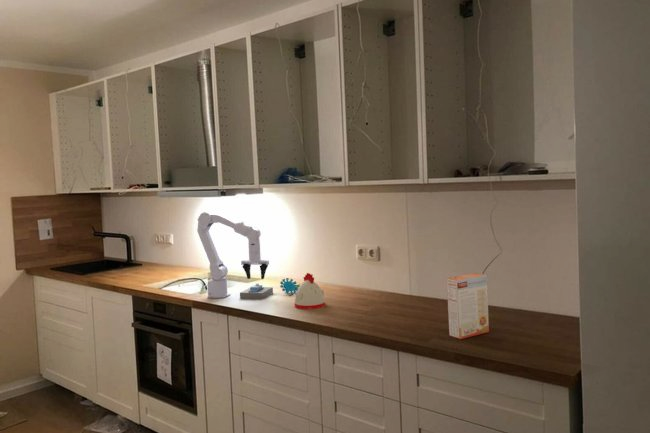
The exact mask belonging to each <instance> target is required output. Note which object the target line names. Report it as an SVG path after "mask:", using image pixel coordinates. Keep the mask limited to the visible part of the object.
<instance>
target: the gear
mask: <svg viewBox="0 0 650 433" xmlns="http://www.w3.org/2000/svg"><path fill="white" fill-rule="evenodd" d="M279 284H280V288H281V290H282V292H285V294H290V295H293V294H294V295H295V292H297V290H298V288H299V287H300V285H301V284H297V281H296V280H295V281H294V279H292V278H290V280H289V278H288V277H286V278H283V279H281V281H280V283H279Z"/></svg>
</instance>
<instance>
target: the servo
mask: <svg viewBox="0 0 650 433" xmlns="http://www.w3.org/2000/svg"><path fill="white" fill-rule="evenodd" d="M264 287H265V286H263V284H260V283H259V282H258V283H255V284H254V285H252V286H250V287H249V288H250V290H249V292H259V291H261V290H262V289H263V288H264Z"/></svg>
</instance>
